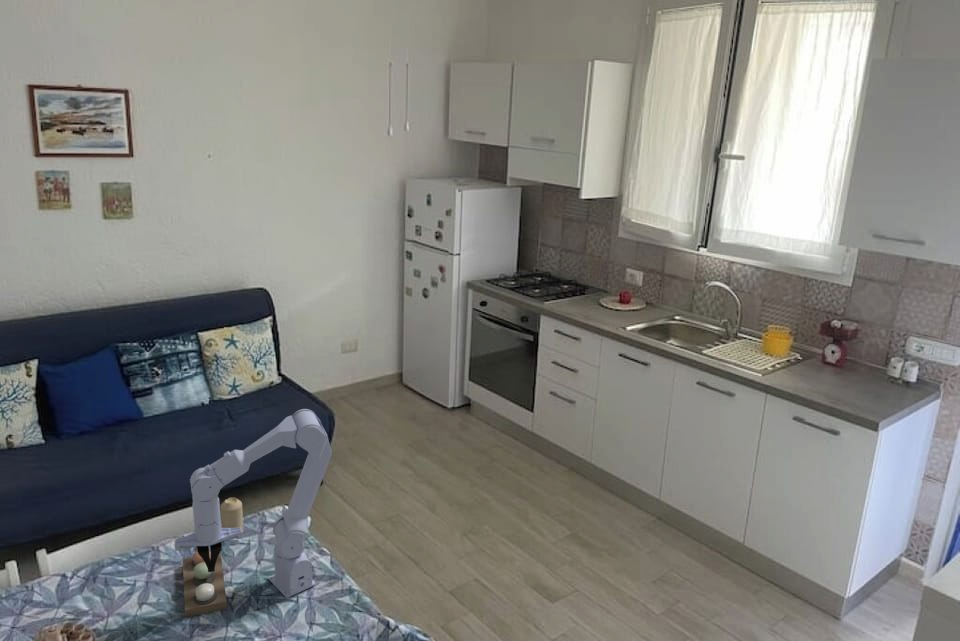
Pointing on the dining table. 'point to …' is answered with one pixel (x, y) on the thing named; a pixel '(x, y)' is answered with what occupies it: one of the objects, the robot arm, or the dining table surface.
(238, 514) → the candle
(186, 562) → the button panel
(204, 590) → the button cream
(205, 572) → the button sage
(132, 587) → the dining table surface
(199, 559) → the button terracotta
